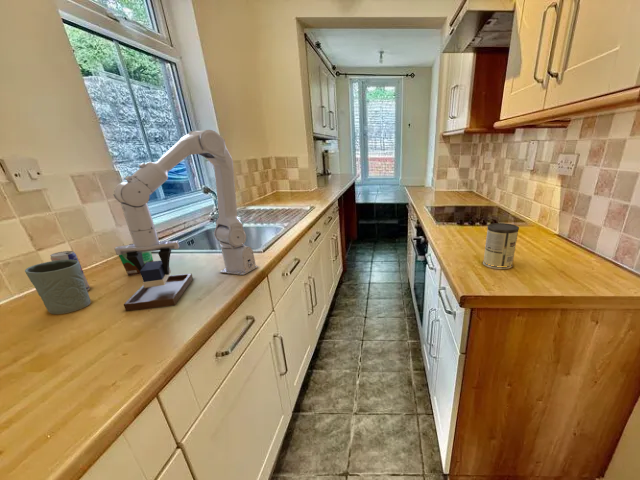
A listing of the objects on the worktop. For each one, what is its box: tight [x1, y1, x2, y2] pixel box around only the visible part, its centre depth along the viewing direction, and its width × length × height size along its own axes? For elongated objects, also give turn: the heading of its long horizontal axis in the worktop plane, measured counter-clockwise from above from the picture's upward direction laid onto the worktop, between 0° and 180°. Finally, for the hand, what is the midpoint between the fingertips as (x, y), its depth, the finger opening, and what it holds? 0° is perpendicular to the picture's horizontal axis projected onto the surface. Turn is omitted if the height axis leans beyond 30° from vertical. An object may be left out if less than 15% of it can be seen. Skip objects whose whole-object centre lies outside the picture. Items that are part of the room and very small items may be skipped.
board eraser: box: [140, 260, 172, 288], centre depth 91 cm, size 11×5×5 cm, turn 24°
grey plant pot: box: [24, 260, 92, 315], centre depth 84 cm, size 10×10×12 cm
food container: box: [118, 243, 154, 276], centre depth 110 cm, size 12×6×10 cm, turn 179°
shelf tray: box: [123, 272, 194, 312], centre depth 94 cm, size 12×20×2 cm, turn 16°
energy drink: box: [50, 250, 91, 292], centre depth 93 cm, size 5×5×12 cm
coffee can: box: [482, 222, 520, 270], centre depth 112 cm, size 10×10×14 cm
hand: (157, 275), depth 92 cm, fingers closed on board eraser, 5 cm apart
